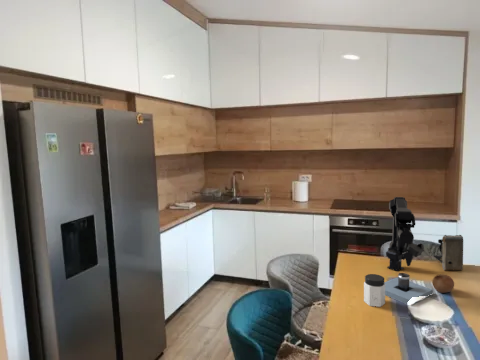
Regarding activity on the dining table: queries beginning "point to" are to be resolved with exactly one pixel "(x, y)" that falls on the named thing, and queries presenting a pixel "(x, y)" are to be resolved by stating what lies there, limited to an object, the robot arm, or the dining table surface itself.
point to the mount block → (402, 296)
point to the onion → (443, 283)
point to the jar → (374, 290)
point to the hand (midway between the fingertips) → (402, 268)
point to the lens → (403, 282)
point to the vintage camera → (451, 252)
